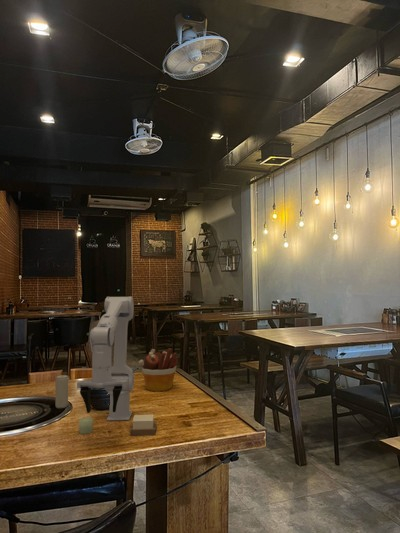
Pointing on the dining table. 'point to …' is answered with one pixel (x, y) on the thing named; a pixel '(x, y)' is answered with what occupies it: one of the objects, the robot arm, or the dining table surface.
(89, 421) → the green cylinder
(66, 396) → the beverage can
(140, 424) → the top block
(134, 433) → the base block
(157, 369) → the bucket of meat
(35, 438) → the dining table surface
